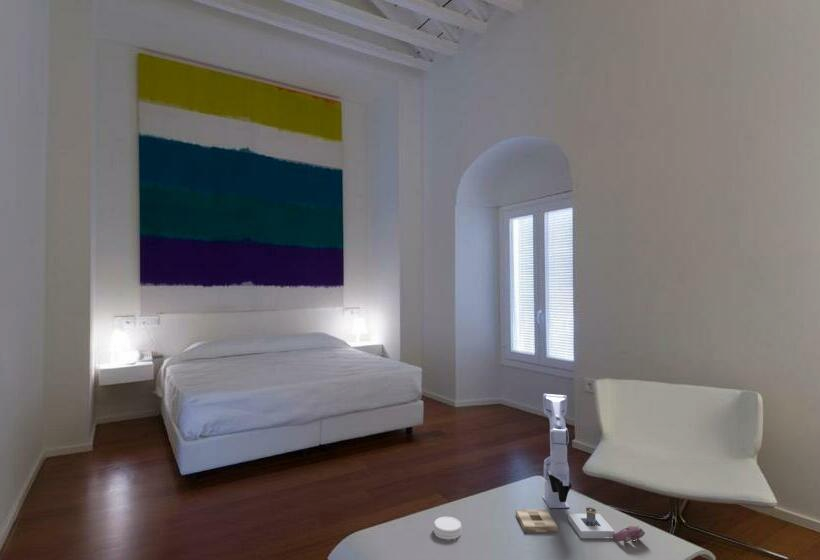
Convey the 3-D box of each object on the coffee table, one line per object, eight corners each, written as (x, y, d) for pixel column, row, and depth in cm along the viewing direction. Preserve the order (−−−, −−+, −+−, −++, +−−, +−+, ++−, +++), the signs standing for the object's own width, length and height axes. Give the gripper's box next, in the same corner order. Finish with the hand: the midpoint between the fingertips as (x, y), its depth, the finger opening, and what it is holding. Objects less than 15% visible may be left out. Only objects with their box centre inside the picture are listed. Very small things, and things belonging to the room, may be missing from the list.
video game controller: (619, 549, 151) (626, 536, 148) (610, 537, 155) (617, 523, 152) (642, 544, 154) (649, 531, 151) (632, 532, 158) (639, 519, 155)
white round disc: (460, 542, 152) (460, 532, 152) (431, 538, 154) (431, 528, 154) (462, 527, 162) (462, 517, 162) (435, 524, 164) (435, 514, 164)
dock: (568, 520, 167) (568, 513, 167) (599, 520, 167) (599, 513, 167) (581, 538, 155) (581, 531, 155) (614, 538, 155) (614, 531, 155)
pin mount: (515, 514, 170) (515, 509, 170) (546, 514, 171) (546, 509, 171) (524, 532, 158) (524, 526, 158) (557, 532, 159) (557, 526, 159)
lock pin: (584, 526, 163) (584, 507, 163) (593, 526, 163) (593, 507, 163) (588, 531, 159) (588, 512, 159) (598, 531, 159) (598, 512, 159)
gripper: (542, 453, 173) (542, 487, 173) (555, 468, 159) (555, 506, 158) (560, 453, 173) (559, 487, 173) (574, 468, 159) (574, 506, 159)
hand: (558, 496), depth 166 cm, fingers open, 7 cm apart
